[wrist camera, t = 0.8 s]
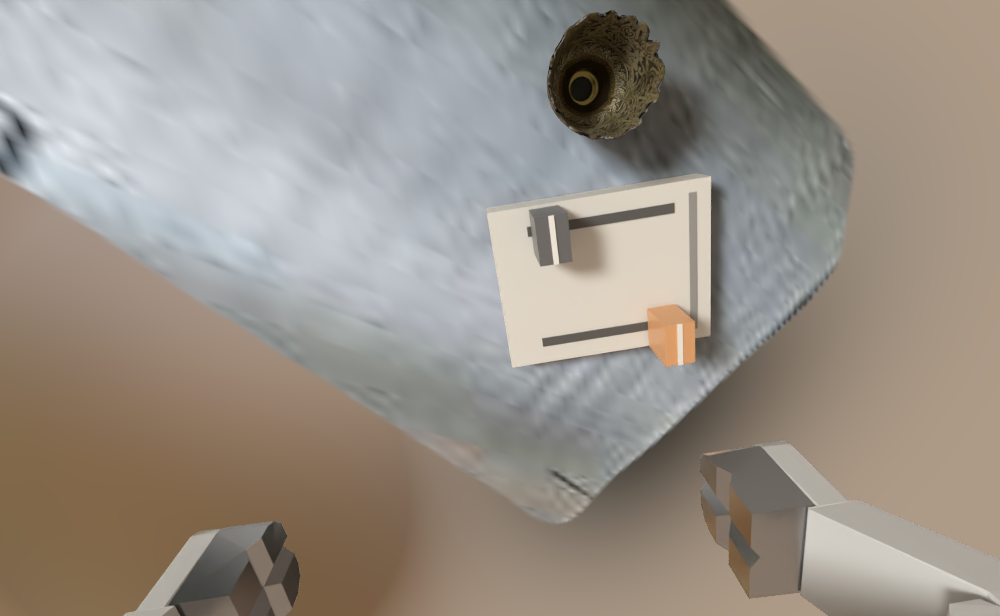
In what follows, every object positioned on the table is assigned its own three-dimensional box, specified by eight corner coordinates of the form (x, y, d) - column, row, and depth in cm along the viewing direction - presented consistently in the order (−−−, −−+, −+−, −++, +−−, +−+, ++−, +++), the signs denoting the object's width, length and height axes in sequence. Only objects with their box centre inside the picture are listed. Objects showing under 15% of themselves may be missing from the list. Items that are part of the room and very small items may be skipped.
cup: (572, 13, 35) (598, -20, 28) (646, 75, 37) (688, 59, 29) (516, 102, 37) (525, 93, 30) (588, 157, 39) (614, 162, 31)
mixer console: (486, 207, 40) (486, 213, 37) (694, 173, 40) (711, 176, 37) (510, 352, 45) (512, 368, 42) (695, 323, 44) (711, 336, 42)
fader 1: (528, 209, 37) (534, 218, 33) (558, 204, 37) (567, 212, 33) (534, 253, 38) (540, 267, 34) (563, 248, 38) (572, 261, 34)
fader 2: (647, 308, 40) (664, 326, 36) (674, 304, 40) (695, 321, 36) (648, 345, 41) (666, 367, 37) (675, 341, 41) (695, 362, 37)
